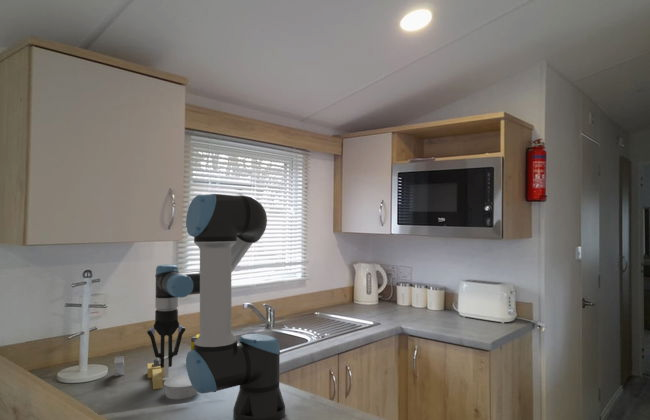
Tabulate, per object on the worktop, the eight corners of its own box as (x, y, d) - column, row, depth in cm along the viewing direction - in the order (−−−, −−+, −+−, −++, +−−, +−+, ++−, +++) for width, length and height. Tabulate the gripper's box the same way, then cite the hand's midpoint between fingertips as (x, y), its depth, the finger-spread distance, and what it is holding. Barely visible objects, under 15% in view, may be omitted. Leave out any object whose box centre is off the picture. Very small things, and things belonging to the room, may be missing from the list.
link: (147, 372, 168) (147, 363, 168) (164, 370, 170) (164, 361, 170) (148, 389, 151) (148, 379, 151) (167, 387, 153) (167, 377, 154)
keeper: (123, 381, 160) (123, 362, 160) (113, 382, 159) (113, 363, 159) (123, 374, 167) (124, 356, 167) (114, 375, 166) (115, 356, 166)
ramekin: (206, 396, 149) (206, 380, 149) (175, 407, 141) (175, 390, 141) (187, 388, 156) (187, 372, 156) (156, 397, 148) (157, 381, 148)
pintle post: (159, 375, 166) (159, 360, 166) (153, 376, 165) (153, 360, 165) (159, 373, 168) (159, 358, 168) (153, 374, 167) (153, 359, 167)
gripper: (185, 305, 167) (184, 370, 166) (146, 308, 162) (146, 375, 162) (186, 309, 160) (186, 377, 159) (146, 312, 155) (146, 382, 155)
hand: (166, 376), depth 161 cm, fingers closed
